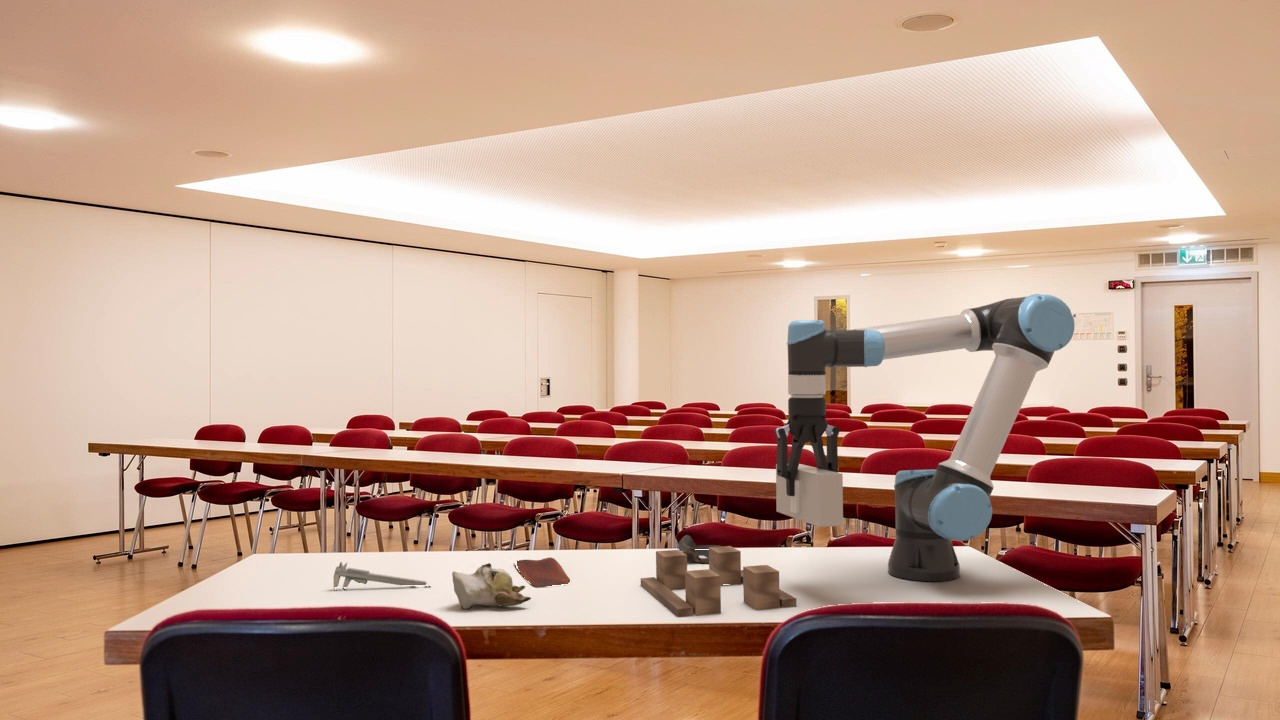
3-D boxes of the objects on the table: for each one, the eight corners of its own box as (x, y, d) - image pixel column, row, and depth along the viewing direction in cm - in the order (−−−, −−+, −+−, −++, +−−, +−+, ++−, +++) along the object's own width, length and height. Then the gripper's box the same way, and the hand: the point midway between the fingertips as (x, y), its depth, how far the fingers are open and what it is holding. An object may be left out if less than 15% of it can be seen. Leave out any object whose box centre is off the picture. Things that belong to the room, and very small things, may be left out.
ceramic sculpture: (451, 557, 185) (526, 557, 189) (449, 601, 185) (524, 600, 189) (453, 569, 175) (532, 569, 178) (451, 615, 175) (530, 614, 178)
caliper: (333, 592, 195) (333, 562, 195) (334, 591, 197) (334, 561, 197) (431, 588, 197) (431, 559, 198) (432, 587, 199) (431, 558, 199)
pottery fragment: (731, 565, 217) (731, 546, 217) (681, 565, 216) (681, 547, 216) (722, 552, 232) (722, 534, 232) (675, 552, 231) (675, 535, 231)
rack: (745, 576, 203) (745, 545, 203) (796, 606, 178) (795, 569, 178) (640, 585, 197) (640, 552, 197) (677, 616, 172) (677, 579, 172)
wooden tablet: (512, 565, 221) (511, 558, 221) (553, 562, 224) (553, 555, 224) (528, 591, 195) (528, 583, 195) (575, 587, 198) (574, 579, 198)
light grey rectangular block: (798, 510, 197) (797, 463, 197) (843, 525, 178) (842, 473, 178) (776, 511, 196) (776, 464, 196) (819, 527, 176) (818, 474, 176)
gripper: (838, 395, 193) (839, 506, 193) (758, 396, 188) (759, 511, 188) (856, 396, 186) (857, 512, 186) (773, 397, 181) (774, 516, 181)
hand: (807, 511), depth 187 cm, fingers closed on light grey rectangular block, 5 cm apart
